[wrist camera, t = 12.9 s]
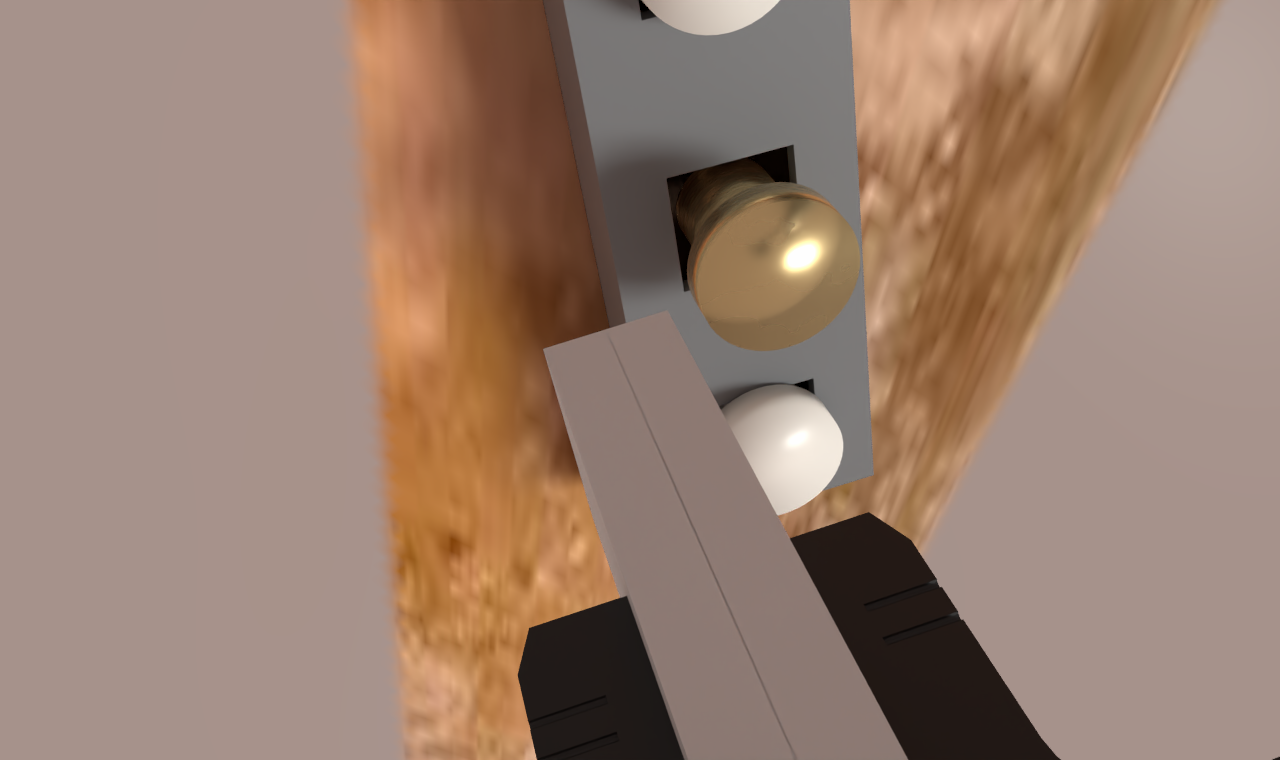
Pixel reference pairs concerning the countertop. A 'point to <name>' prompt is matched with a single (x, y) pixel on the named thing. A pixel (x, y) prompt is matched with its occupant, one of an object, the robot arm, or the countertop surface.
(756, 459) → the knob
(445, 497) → the countertop surface
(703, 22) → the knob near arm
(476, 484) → the countertop surface
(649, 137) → the console
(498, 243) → the countertop surface
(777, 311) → the brass knob
